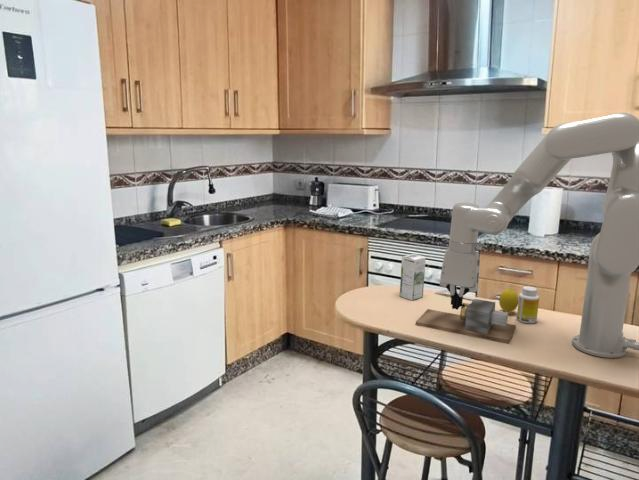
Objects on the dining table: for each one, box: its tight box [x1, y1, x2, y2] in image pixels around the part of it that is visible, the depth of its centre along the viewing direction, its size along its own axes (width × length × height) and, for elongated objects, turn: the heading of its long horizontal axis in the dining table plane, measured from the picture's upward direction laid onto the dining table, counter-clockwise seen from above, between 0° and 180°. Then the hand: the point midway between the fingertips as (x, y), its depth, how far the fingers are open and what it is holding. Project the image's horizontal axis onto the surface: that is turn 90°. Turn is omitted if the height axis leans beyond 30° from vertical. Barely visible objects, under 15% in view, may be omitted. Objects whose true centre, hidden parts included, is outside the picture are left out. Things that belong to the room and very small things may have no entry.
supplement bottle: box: [516, 286, 540, 324], centre depth 148 cm, size 6×6×10 cm
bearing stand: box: [415, 298, 517, 344], centre depth 143 cm, size 26×12×7 cm, turn 61°
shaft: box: [459, 302, 509, 326], centre depth 140 cm, size 12×5×5 cm, turn 61°
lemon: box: [499, 288, 519, 314], centre depth 154 cm, size 6×6×8 cm
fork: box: [434, 289, 475, 301], centre depth 168 cm, size 3×21×3 cm, turn 58°
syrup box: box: [399, 253, 426, 301], centre depth 167 cm, size 6×6×14 cm
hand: (456, 307), depth 144 cm, fingers closed
